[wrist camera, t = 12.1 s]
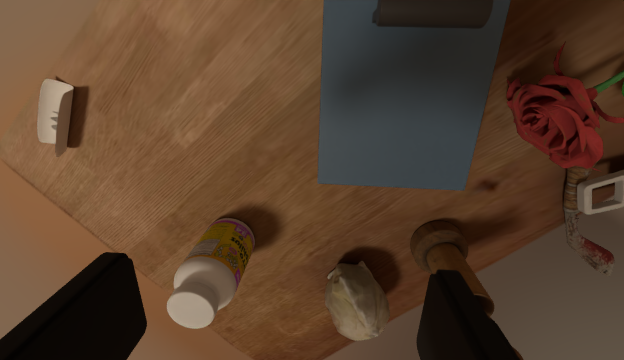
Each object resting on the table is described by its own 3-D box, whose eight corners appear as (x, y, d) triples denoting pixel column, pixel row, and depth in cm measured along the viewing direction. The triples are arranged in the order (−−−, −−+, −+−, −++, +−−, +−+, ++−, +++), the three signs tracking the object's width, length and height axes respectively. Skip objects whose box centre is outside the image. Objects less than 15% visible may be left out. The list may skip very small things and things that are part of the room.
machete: (626, 281, 38) (586, 296, 39) (606, 266, 40) (568, 281, 41) (612, 145, 30) (561, 169, 30) (589, 137, 32) (542, 159, 33)
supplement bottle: (261, 253, 41) (233, 333, 29) (217, 260, 42) (171, 339, 30) (248, 212, 39) (210, 280, 27) (201, 219, 40) (145, 288, 28)
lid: (324, -23, 21) (322, -50, 15) (510, -20, 20) (573, -48, 15) (317, 180, 27) (314, 210, 21) (460, 187, 26) (493, 220, 21)
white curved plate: (61, 94, 31) (25, 83, 30) (54, 160, 34) (21, 152, 33) (77, 87, 34) (45, 76, 33) (70, 147, 37) (40, 140, 36)
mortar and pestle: (459, 262, 40) (550, 410, 23) (409, 264, 40) (463, 410, 24) (463, 218, 37) (569, 349, 20) (410, 221, 38) (471, 351, 21)
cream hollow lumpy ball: (341, 243, 42) (342, 266, 33) (396, 270, 42) (414, 301, 32) (314, 301, 43) (306, 341, 33) (368, 328, 43) (376, 376, 33)
